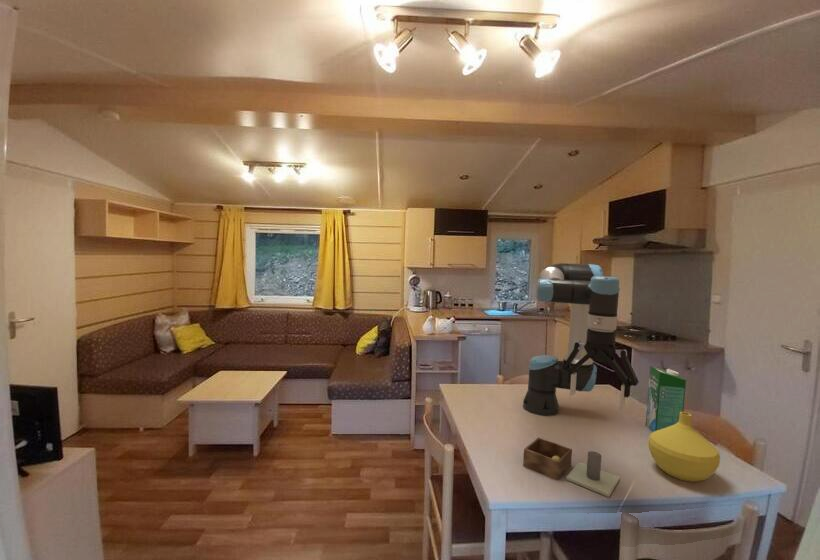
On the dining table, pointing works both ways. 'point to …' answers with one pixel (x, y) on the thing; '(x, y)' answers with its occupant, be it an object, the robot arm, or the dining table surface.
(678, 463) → the vase
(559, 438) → the dining table surface
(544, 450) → the walnut box
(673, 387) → the milk carton
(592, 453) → the lid
